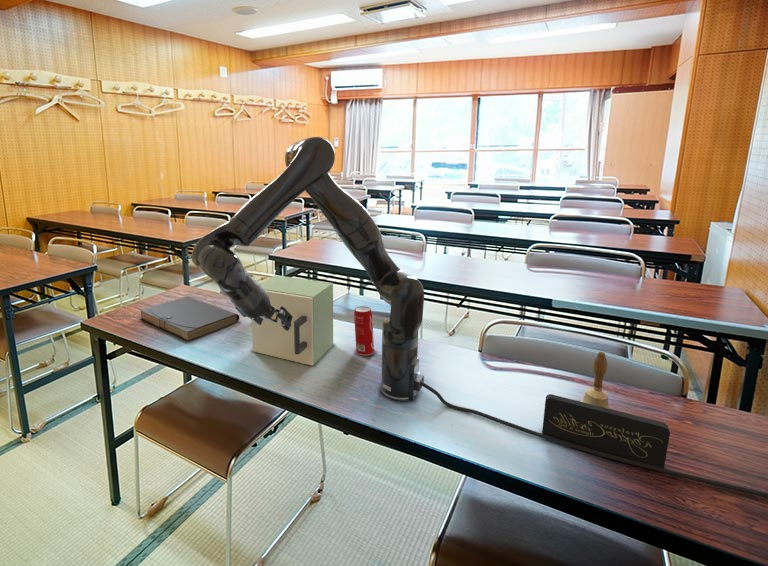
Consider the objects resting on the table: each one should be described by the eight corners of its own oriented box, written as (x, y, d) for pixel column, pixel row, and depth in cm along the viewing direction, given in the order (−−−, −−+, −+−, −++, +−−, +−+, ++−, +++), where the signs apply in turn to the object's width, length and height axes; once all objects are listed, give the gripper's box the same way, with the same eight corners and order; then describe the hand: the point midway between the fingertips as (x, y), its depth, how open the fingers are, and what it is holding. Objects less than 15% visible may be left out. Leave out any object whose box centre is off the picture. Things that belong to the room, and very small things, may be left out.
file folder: (139, 309, 171) (190, 294, 189) (140, 319, 172) (190, 303, 189) (186, 331, 149) (239, 312, 167) (187, 342, 150) (239, 322, 167)
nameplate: (661, 467, 87) (669, 423, 85) (663, 473, 85) (670, 428, 83) (542, 432, 98) (546, 392, 96) (541, 436, 97) (545, 396, 95)
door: (303, 374, 126) (302, 304, 122) (242, 358, 136) (239, 294, 132) (313, 364, 132) (312, 297, 127) (254, 350, 142) (251, 287, 138)
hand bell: (617, 427, 99) (626, 364, 96) (574, 416, 103) (581, 355, 100) (613, 408, 106) (622, 349, 103) (573, 399, 110) (580, 342, 107)
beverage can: (374, 357, 136) (374, 312, 133) (353, 355, 137) (353, 311, 134) (374, 348, 141) (374, 305, 138) (354, 347, 143) (354, 304, 140)
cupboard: (314, 364, 132) (313, 296, 128) (254, 350, 142) (251, 287, 138) (333, 345, 145) (333, 282, 140) (277, 333, 155) (275, 275, 151)
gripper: (279, 286, 100) (302, 316, 112) (230, 278, 107) (257, 307, 119) (268, 315, 96) (293, 342, 108) (218, 305, 103) (247, 332, 115)
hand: (274, 324), depth 113 cm, fingers open, 8 cm apart
